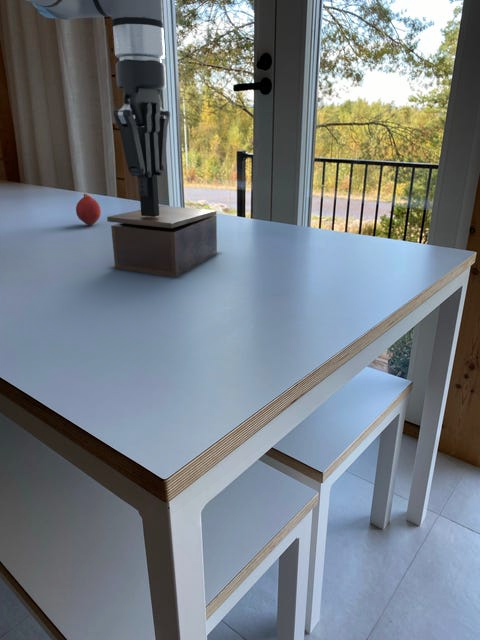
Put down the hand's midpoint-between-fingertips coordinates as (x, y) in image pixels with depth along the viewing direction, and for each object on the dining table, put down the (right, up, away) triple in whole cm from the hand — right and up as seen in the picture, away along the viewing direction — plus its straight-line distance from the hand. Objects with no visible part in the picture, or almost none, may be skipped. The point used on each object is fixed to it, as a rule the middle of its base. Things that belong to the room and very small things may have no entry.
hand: (150, 215), depth 82 cm
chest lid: (+2, +1, +5) cm, 5 cm away
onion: (-22, +5, +36) cm, 43 cm away
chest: (+2, -7, +8) cm, 11 cm away
